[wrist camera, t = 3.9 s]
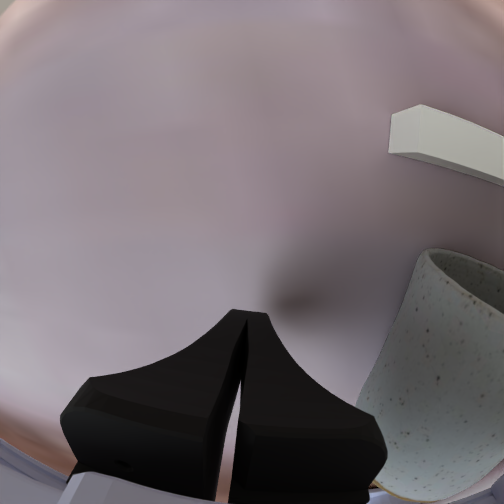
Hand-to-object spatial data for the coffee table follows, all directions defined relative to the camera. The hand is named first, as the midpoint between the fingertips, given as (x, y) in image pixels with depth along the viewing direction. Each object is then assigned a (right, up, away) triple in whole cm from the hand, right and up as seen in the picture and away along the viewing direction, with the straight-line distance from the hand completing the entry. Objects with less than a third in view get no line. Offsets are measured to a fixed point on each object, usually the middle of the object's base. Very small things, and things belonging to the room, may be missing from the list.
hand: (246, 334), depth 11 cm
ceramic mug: (+10, -1, +1) cm, 10 cm away
